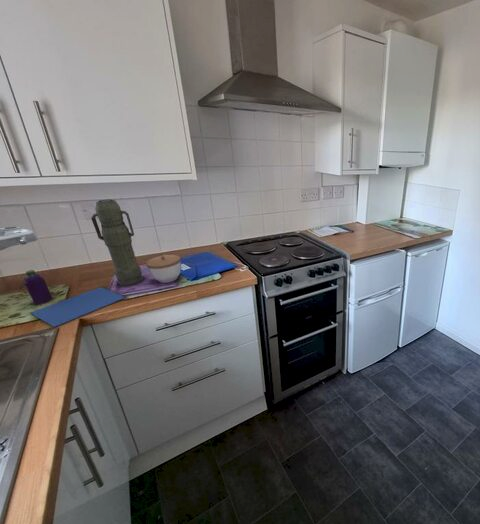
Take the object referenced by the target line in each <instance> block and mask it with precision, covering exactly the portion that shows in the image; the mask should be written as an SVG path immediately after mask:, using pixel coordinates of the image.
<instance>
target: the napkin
mask: <svg viewBox="0 0 480 524" xmlns="http://www.w3.org/2000/svg"><path fill="white" fill-rule="evenodd" d="M124 299H126V296H124V295H121V294H119V293H117V292H114V291H111V290H109V289H107V288H105V287H102V286H100V287H97V288H95V289H91V290H89V291H86V292H83V293H80V294H78V295H75V296H72V297H69V298H66V299H64V300H61V301H58V302H56V303H53V304H50V305H48V306H47V305H46V306H44V307H42V308H40V309H35V310H33V311H31V312H30V314H31V315H32V316H34V317H36V318H38V319H39V320H41V321H43V322H44V323H45V324H48V325H49V326H51V327H53V328H57V327H60V326H61V325H64V324H66V323H68V322H71V321H73V320H77V319H78V318H81V317H84V316H85V315H88V314H91V313H93V312H96V311H98V310H100V309H102V308H105V307H107V306H110V305H112V304H115V303H117V302H119V301H122V300H124Z"/></svg>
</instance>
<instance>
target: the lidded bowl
mask: <svg viewBox="0 0 480 524" xmlns="http://www.w3.org/2000/svg"><path fill="white" fill-rule="evenodd" d="M145 264H146V265H145V266H146V267H147V270H148V273H149V274H150V276H151V277H152V278H153V279H154V280H156V281H158V282H159V283H163V284H166V283H171V282H175V281H176V280H177V279H179V278H178V277H179V276H180V275H181V272H182V262H181V257H180V256H179V255H176V254H164V255H162V254H161V255H159V256H154V257H152V258H150V259H148V260H147V261H146V262H145Z"/></svg>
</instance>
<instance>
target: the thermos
mask: <svg viewBox="0 0 480 524" xmlns="http://www.w3.org/2000/svg"><path fill="white" fill-rule="evenodd" d="M95 212H96V213H94V214H92V216H91V218H90V220H91V222H92V224H93V227H94V229H95V233H96V235H97V239H99V240H101V241H104V245H105V246H106V247H107V249H108V252H109V255H110V258H111V261H112V265H113V267H114V275H115V279H116V280H117V281H118V285H119V286H121V287H130V286H133V285H137V284H139V283H141V282H142V281H143V280H144V278H143V277H144V276H143V272H142V269H141V267H140V265H139V263H138V261H137V258H136V254H135V251H134V248H133V245H132V243H133V240H132V237H134V236H135V232H134V229H133V225H132V222H131V217H130V215H129V213H128V212H127V211H126V210H122V209H121V206H120V205H119V203H118V202H117V201H116V200H114V199H111V198H110V199H109V198H108V199H100V200H98V201H96V203H95ZM123 215H125V216H126V219H127V222H128V223H127V224H128V226H129V227H128V226H127V225H126V222H125V221H124V217H123ZM96 217H97V218H98V221H99V223H100V227H101V230H100V227H99V224H98V221H97V219H96ZM129 229H130V230H129Z"/></svg>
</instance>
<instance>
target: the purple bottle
mask: <svg viewBox="0 0 480 524" xmlns="http://www.w3.org/2000/svg"><path fill="white" fill-rule="evenodd" d="M25 274H26V276H25V277H24V281H23V283H24V286H25V288H26V290H27V292H28V294H29V296H30V298H31V300H32V302H33V304H34V305H42V304H44V305H45V304H47V303H49V302H51V301H53V299H54V298H53V296H52V293H51V291H50V289H49V286H48V284H47V282H46V280H45V278H44V276H41V274H39V273H36V272H35V270H34V269H29V270H27V271H25Z"/></svg>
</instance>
